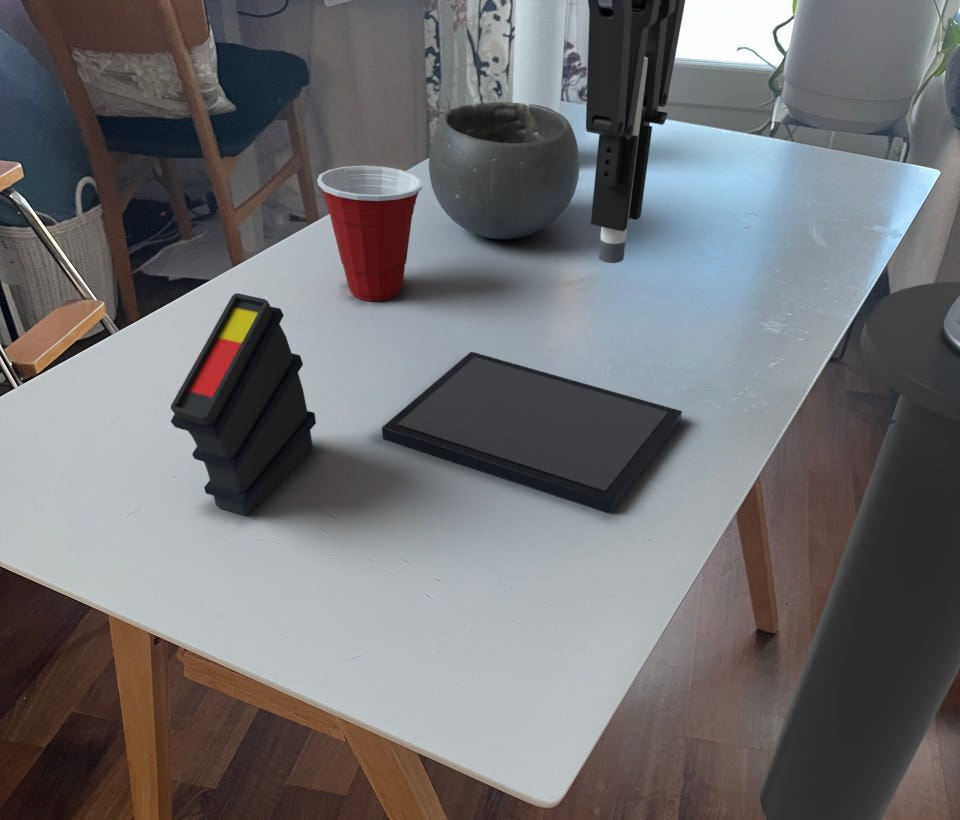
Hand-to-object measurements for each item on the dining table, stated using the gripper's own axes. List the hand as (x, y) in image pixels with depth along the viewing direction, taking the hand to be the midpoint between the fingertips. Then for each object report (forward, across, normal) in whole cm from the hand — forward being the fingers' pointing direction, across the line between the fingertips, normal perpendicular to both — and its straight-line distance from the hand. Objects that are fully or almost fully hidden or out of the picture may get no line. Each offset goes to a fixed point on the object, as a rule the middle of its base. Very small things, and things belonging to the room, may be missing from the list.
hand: (615, 219), depth 75 cm
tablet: (+18, +3, -4) cm, 19 cm away
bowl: (+19, -35, -29) cm, 49 cm away
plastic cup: (+19, -13, -32) cm, 40 cm away
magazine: (+19, +22, -20) cm, 36 cm away
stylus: (+3, 0, 0) cm, 3 cm away
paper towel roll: (+19, -59, -37) cm, 72 cm away
